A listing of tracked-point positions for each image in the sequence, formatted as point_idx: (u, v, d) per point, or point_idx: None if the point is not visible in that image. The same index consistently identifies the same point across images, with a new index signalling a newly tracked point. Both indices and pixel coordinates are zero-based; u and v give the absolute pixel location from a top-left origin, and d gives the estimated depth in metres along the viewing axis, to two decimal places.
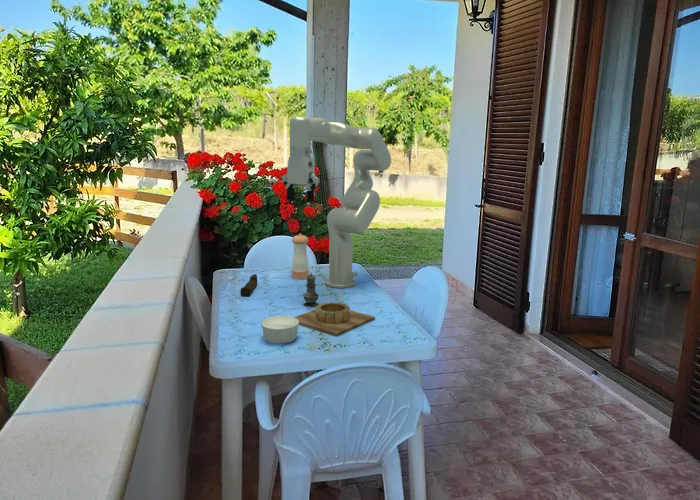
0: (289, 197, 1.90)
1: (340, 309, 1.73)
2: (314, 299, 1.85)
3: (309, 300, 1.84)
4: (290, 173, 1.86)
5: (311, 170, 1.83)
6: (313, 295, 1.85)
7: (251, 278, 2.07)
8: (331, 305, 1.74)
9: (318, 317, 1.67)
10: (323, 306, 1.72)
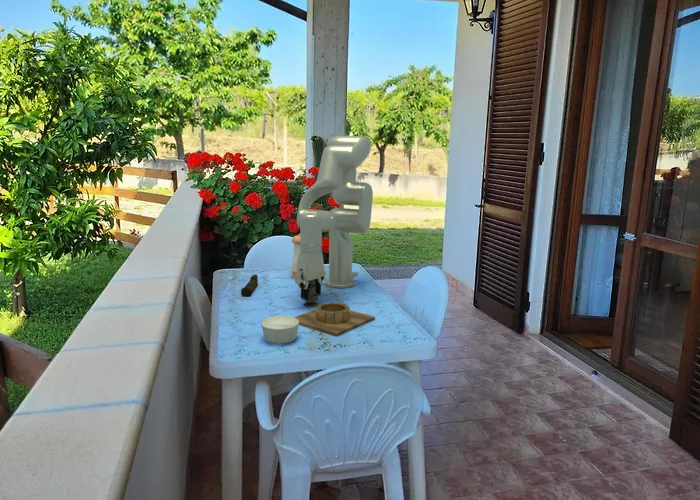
0: None
1: (340, 309, 1.73)
2: (314, 299, 1.85)
3: (309, 300, 1.84)
4: (311, 270, 1.81)
5: None
6: (313, 295, 1.85)
7: (251, 278, 2.07)
8: (331, 305, 1.74)
9: (318, 317, 1.67)
10: (323, 306, 1.72)
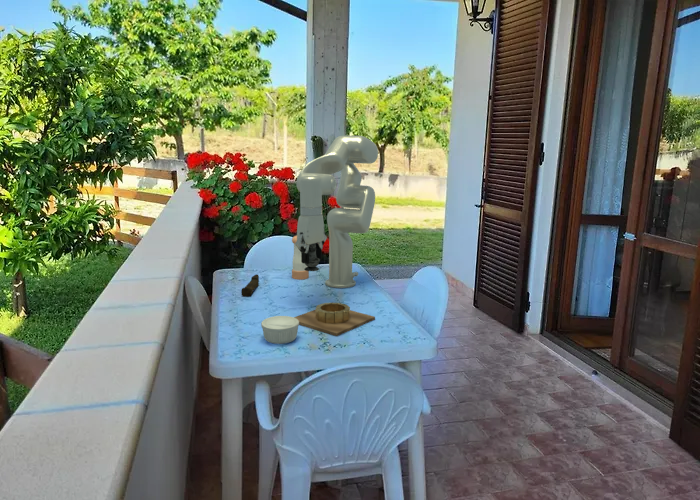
0: None
1: (340, 309, 1.73)
2: (315, 263, 1.83)
3: (310, 264, 1.82)
4: (311, 234, 1.79)
5: None
6: (314, 259, 1.83)
7: (252, 278, 2.07)
8: (331, 305, 1.74)
9: (318, 317, 1.67)
10: (323, 306, 1.72)
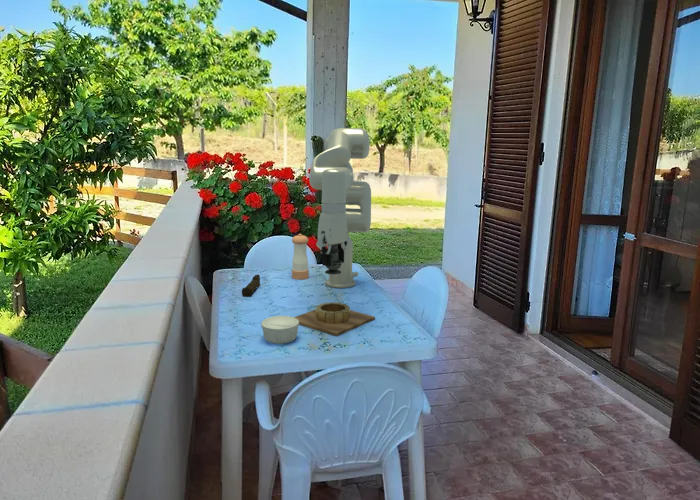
0: None
1: (340, 309, 1.73)
2: (337, 266, 1.65)
3: (331, 267, 1.65)
4: (334, 233, 1.61)
5: None
6: (336, 261, 1.65)
7: (253, 278, 2.07)
8: (331, 305, 1.74)
9: (318, 317, 1.67)
10: (323, 306, 1.72)
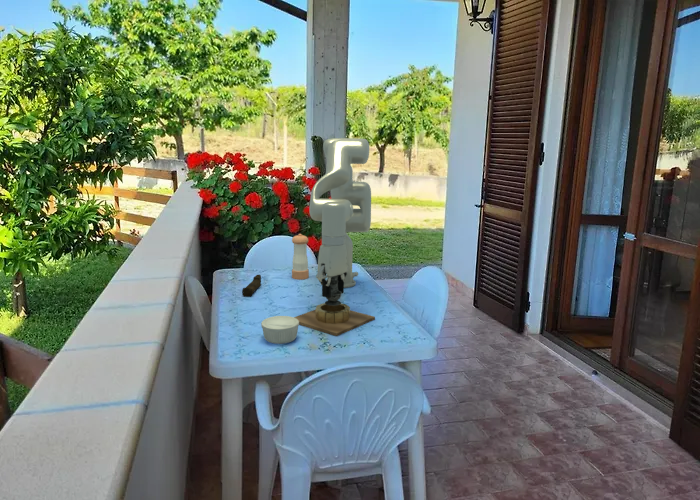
0: None
1: (340, 309, 1.73)
2: (337, 297, 1.67)
3: (331, 298, 1.67)
4: (333, 265, 1.63)
5: None
6: (336, 292, 1.67)
7: (254, 278, 2.07)
8: None
9: (318, 317, 1.67)
10: (323, 306, 1.72)
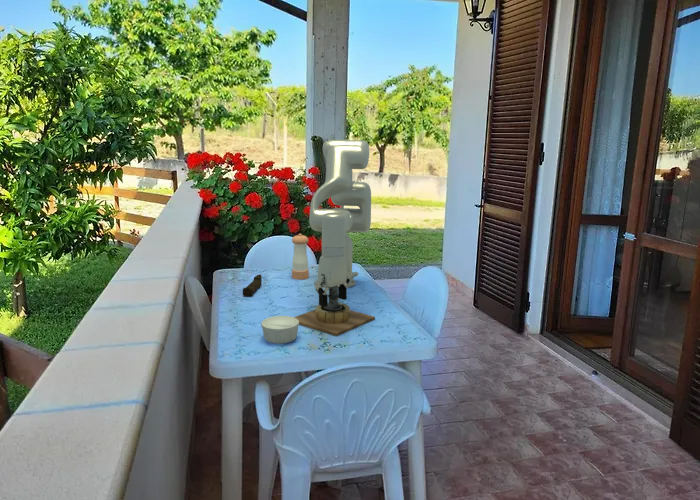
0: None
1: None
2: None
3: None
4: (333, 276, 1.64)
5: None
6: (336, 307, 1.68)
7: (255, 278, 2.07)
8: None
9: (318, 317, 1.67)
10: (323, 306, 1.72)
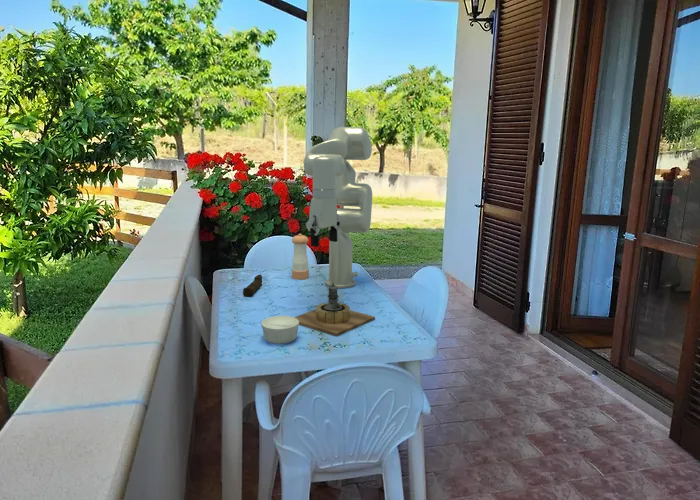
0: None
1: None
2: None
3: None
4: (324, 217, 1.71)
5: None
6: (336, 307, 1.68)
7: (255, 278, 2.07)
8: None
9: (318, 317, 1.67)
10: (323, 306, 1.72)
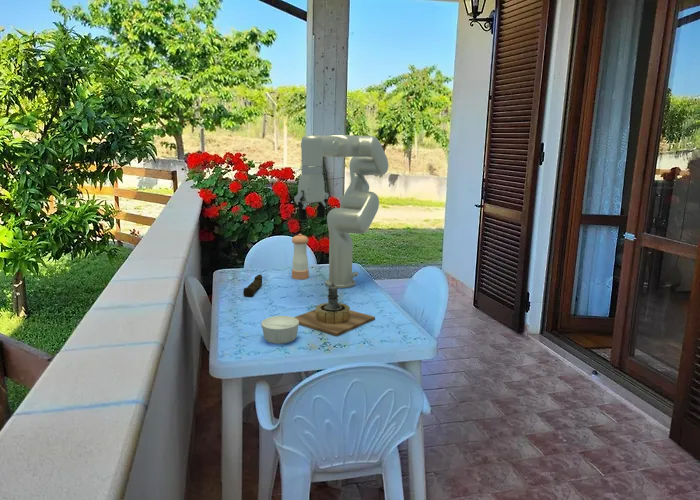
0: None
1: None
2: None
3: None
4: (312, 192, 1.83)
5: None
6: (336, 307, 1.68)
7: (256, 278, 2.07)
8: None
9: (318, 317, 1.67)
10: (323, 306, 1.72)
